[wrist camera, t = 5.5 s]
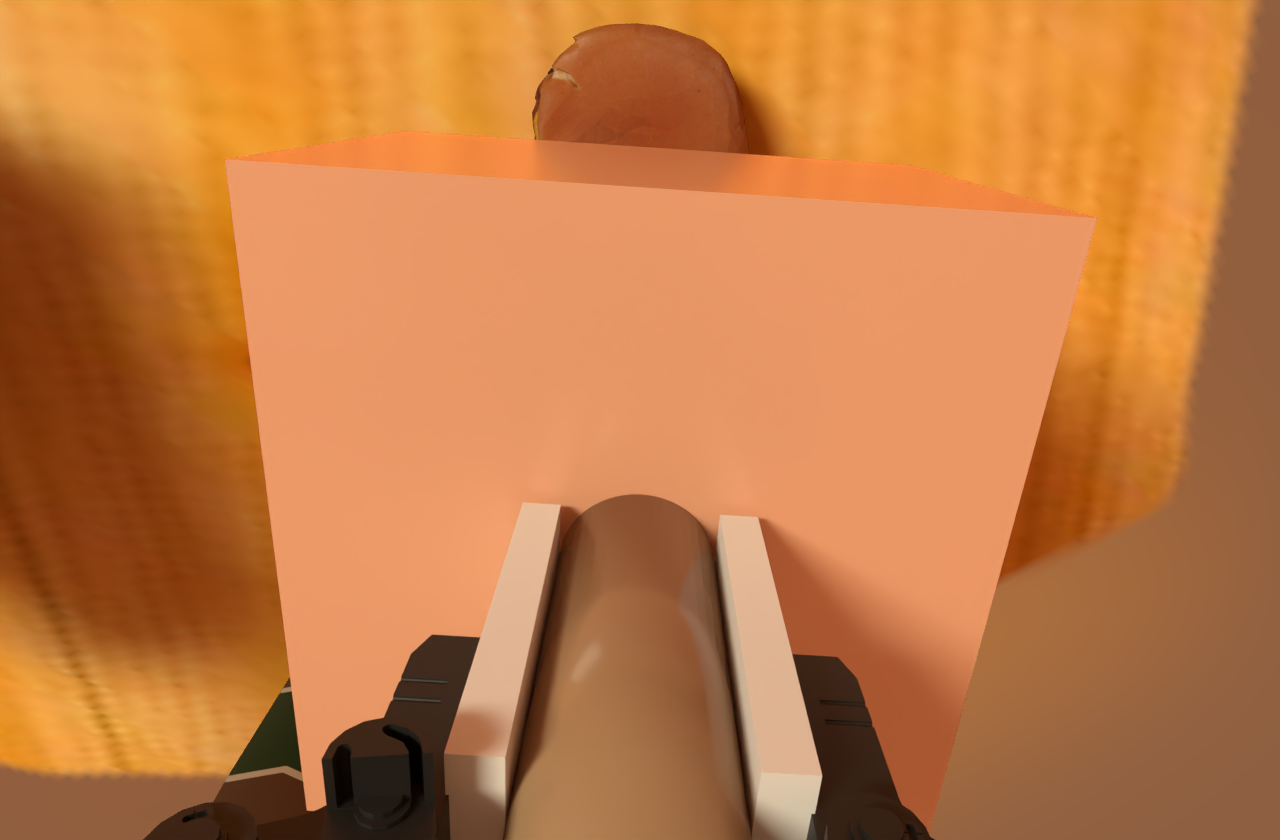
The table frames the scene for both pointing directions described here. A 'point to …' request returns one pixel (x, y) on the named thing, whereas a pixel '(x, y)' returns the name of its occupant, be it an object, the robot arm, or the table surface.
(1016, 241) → the pink box with peg
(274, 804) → the beer bottle
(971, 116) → the table surface
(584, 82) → the burger
